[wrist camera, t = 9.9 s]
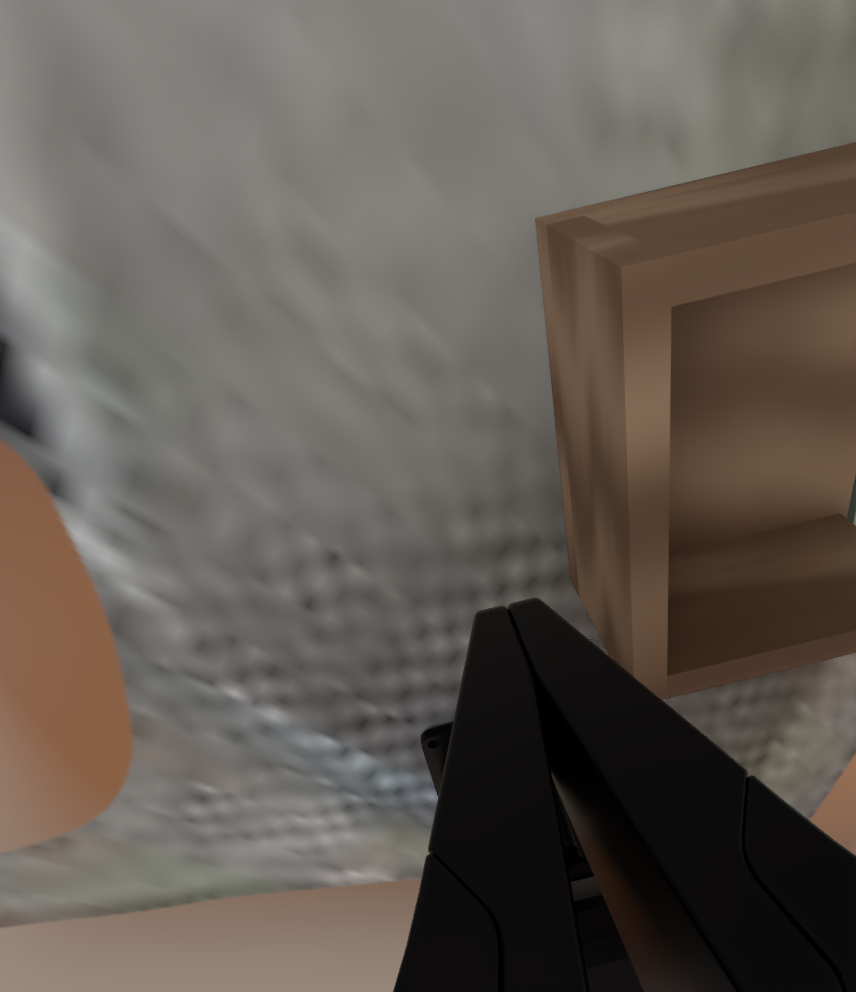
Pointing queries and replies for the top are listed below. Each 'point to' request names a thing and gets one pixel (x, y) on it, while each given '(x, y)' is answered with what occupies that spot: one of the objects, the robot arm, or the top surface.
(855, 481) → the panel
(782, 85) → the top surface
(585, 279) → the crate
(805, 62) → the top surface
